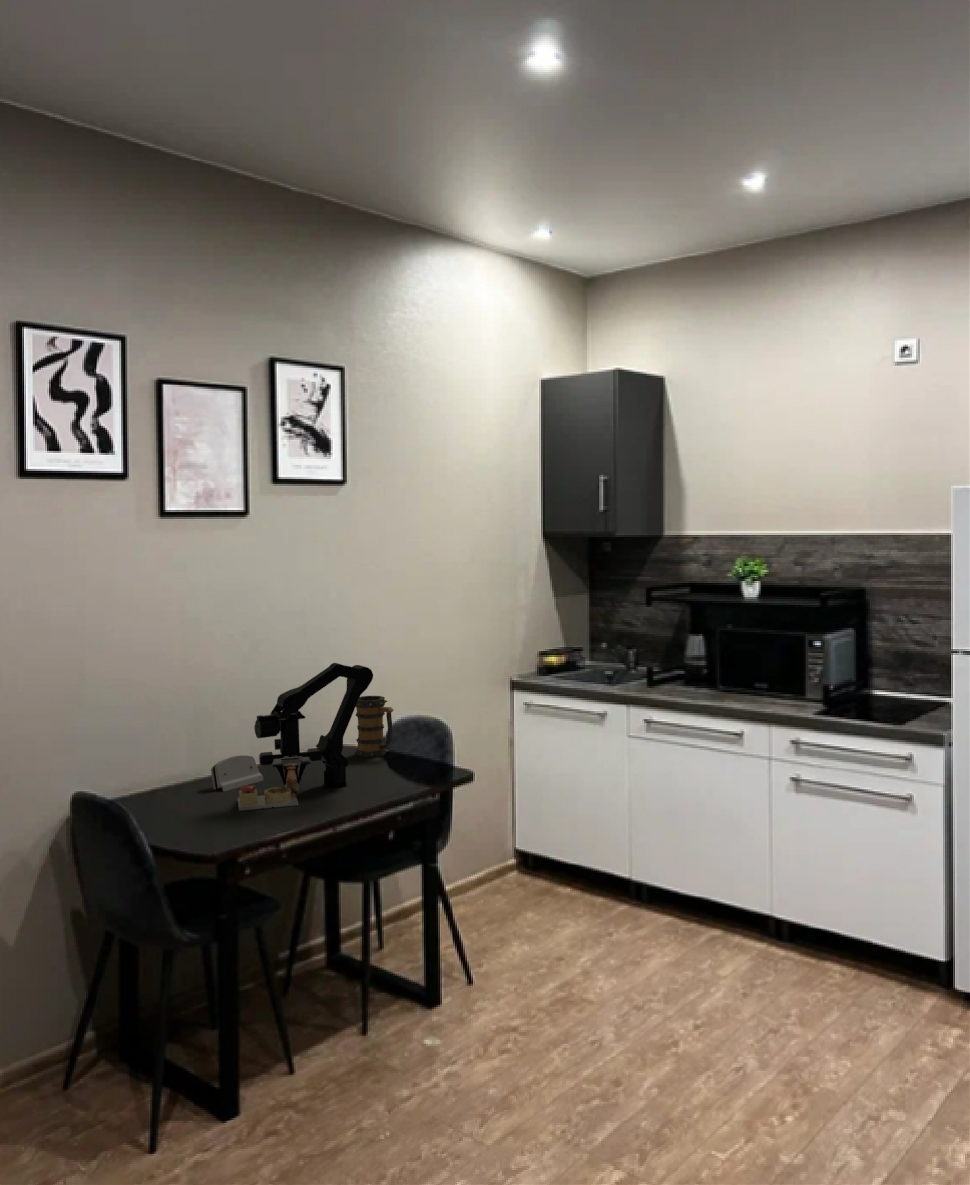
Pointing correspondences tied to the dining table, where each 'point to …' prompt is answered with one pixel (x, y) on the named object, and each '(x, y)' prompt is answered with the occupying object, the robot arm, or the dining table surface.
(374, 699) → the mug
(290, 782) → the pipe stub
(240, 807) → the panel with octagonal sockets
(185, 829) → the dining table surface
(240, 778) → the hinge
